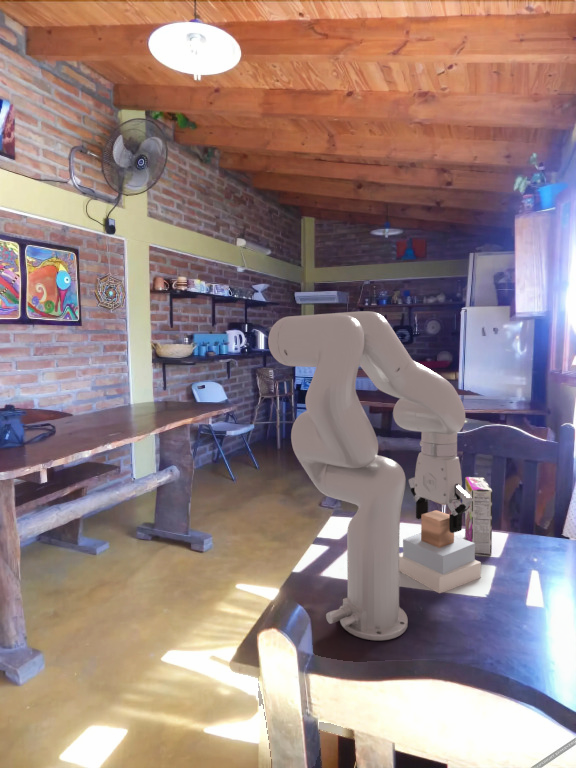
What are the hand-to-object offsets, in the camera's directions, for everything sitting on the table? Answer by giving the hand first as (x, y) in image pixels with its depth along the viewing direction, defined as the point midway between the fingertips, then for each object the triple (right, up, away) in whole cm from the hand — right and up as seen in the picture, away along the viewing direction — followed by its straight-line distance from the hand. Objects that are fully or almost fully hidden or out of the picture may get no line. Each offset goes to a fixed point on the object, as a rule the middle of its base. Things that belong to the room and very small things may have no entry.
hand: (438, 524), depth 110 cm
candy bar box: (+15, -10, +16) cm, 24 cm away
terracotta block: (0, -4, 0) cm, 4 cm away
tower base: (0, -12, +1) cm, 12 cm away
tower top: (0, -8, +1) cm, 8 cm away
